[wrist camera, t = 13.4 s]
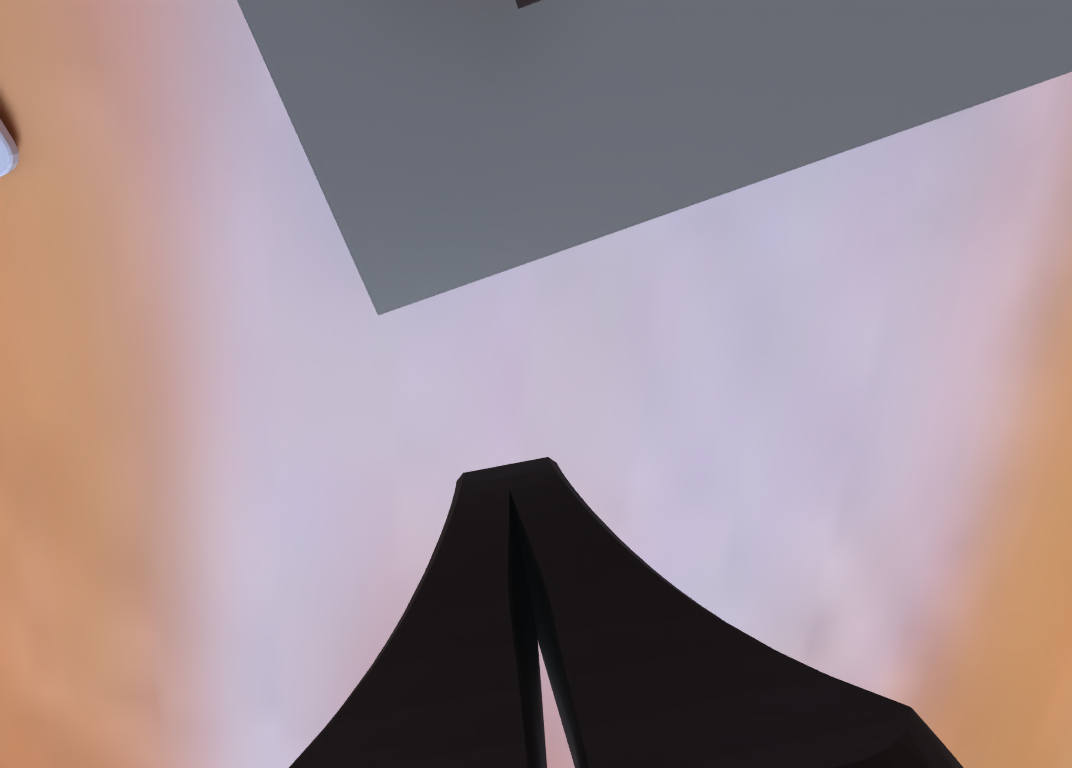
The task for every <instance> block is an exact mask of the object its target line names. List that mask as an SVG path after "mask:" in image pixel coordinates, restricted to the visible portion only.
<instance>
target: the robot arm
mask: <svg viewBox="0 0 1072 768" xmlns="http://www.w3.org/2000/svg"><path fill="white" fill-rule="evenodd" d="M18 161H19V152H18V149H17V146H16V144H15V142H14V140H13V139H12V137H11V135H10V134H9V132H8V130H7V129H6V127H5V126H4V124H3V122H2V121H1V119H0V177H1V176H3V175H5V174H7V173H9V172H10V171H12V170H13V169H15V167H16V165H17V163H18ZM538 642H539V646H540V649H541V653H542V656H543V660H544V663H545V667H546V670H547V673H548V677H549V680H550V684H551V687H552V691H553V694H554V697H555V701H556V704H557V708H558V711H559V714H560V718H561V721H562V725H563V728H564V731H565V735H566V738H567V742H568V745H569V748H570V752H571V755H572V759H573V762H574V766H575V768H963V767H962V765H961V764H960V763H959V762H958V761H957V759H956V758H955V757H954V756H953V755H952V753H951V752H950V751H949V750H948V749H947V748H946V746H945V745H944V744H943V743H942V742H941V741H940V739H939V738H938V737H937V736H936V735H935V734H934V733H933V731H932V730H931V729H930V728H929V727H928V726H927V725H926V723H925V722H924V721H923V720H922V719H921V718H920V717H919V715H918V714H917V713H916V712H915V711H914V710H913V709H912V708H911V707H909V706H907V705H904V704H901V703H899V702H896V701H894V700H891V699H888V698H886V697H883V696H881V695H878V694H875V693H873V692H870V691H868V690H865V689H862V688H860V687H857V686H855V685H852V684H849V683H847V682H844V681H842V680H839V679H836V678H834V677H831V676H829V675H827V674H825V673H822V672H820V671H818V670H816V669H814V668H812V667H809V666H807V665H805V664H803V663H801V662H799V661H797V660H795V659H793V658H790V657H788V656H786V655H784V654H782V653H780V652H778V651H776V650H774V649H772V648H770V647H769V646H767V645H765V644H763V643H762V642H760V641H758V640H756V639H755V638H753V637H751V636H749V635H748V634H746V633H744V632H742V631H741V630H739V629H737V628H735V627H733V626H732V625H730V624H728V623H726V622H725V621H723V620H722V619H720V618H719V617H717V616H716V615H714V614H713V613H711V612H710V611H708V610H707V609H705V608H704V607H702V606H701V605H699V604H698V603H696V602H695V601H694V600H692V599H691V598H690V597H688V596H687V595H686V594H684V593H683V592H681V591H680V590H679V589H677V588H676V587H675V586H673V585H672V584H671V583H670V582H668V581H667V580H666V579H664V578H663V577H662V576H661V575H660V574H658V573H657V572H656V571H655V570H654V569H652V568H651V567H650V566H649V565H648V564H647V563H645V562H644V561H643V560H642V559H641V558H640V557H639V556H638V555H636V554H635V553H634V552H633V551H632V550H631V549H630V548H629V547H628V546H627V545H626V544H625V543H624V542H622V541H621V540H620V539H619V538H618V537H617V536H616V535H615V534H614V533H613V532H612V531H611V530H610V528H609V527H608V526H607V525H606V524H605V523H604V522H603V521H602V520H601V519H600V518H599V517H598V516H597V515H596V514H595V513H594V512H593V511H592V509H591V508H590V507H589V506H588V505H587V504H586V503H585V501H584V500H583V499H582V498H581V497H580V495H579V494H578V493H577V492H576V491H575V489H574V488H573V487H572V485H571V484H570V483H569V481H568V480H567V479H566V477H565V476H564V474H563V473H562V471H561V470H560V468H559V466H558V465H557V463H556V462H555V461H553V460H552V459H550V458H549V457H546V458H540V459H535V460H530V461H524V462H519V463H514V464H508V465H503V466H498V467H492V468H487V469H482V470H477V471H471V472H466V473H463V474H462V475H461V476H460V478H459V479H458V480H457V482H456V488H455V493H454V496H453V500H452V504H451V507H450V510H449V513H448V516H447V519H446V522H445V525H444V527H443V530H442V533H441V535H440V538H439V540H438V542H437V545H436V547H435V550H434V552H433V554H432V557H431V559H430V562H429V564H428V566H427V568H426V571H425V573H424V575H423V577H422V579H421V581H420V583H419V585H418V587H417V589H416V590H415V592H414V594H413V596H412V598H411V600H410V602H409V604H408V606H407V608H406V610H405V612H404V614H403V616H402V617H401V619H400V621H399V623H398V624H397V626H396V628H395V629H394V631H393V633H392V634H391V636H390V638H389V639H388V641H387V643H386V644H385V646H384V647H383V649H382V650H381V652H380V653H379V655H378V656H377V658H376V660H375V661H374V663H373V664H372V666H371V667H370V669H369V670H368V671H367V673H366V674H365V675H364V677H363V678H362V680H361V681H360V682H359V684H358V685H357V686H356V688H355V689H354V691H353V692H352V693H351V695H350V696H349V697H348V699H347V700H346V701H345V703H344V704H343V705H342V707H341V708H340V709H339V710H338V712H337V713H336V714H335V716H334V717H333V718H332V719H331V721H330V722H329V723H328V724H327V725H326V727H325V728H324V729H323V730H322V731H321V732H320V734H319V735H318V736H317V737H316V738H315V739H314V740H313V741H312V742H311V744H310V745H309V746H308V747H307V748H306V749H305V750H304V751H303V753H302V754H301V755H300V756H299V757H298V758H297V759H296V760H295V761H294V763H293V764H292V765H291V766H290V767H289V768H547V761H546V747H545V733H544V720H543V706H542V692H541V678H540V665H539V652H538Z"/></svg>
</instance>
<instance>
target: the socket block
mask: <svg viewBox="0 0 1072 768" xmlns="http://www.w3.org/2000/svg"><path fill="white" fill-rule="evenodd" d="M237 1H238V3H239V5H240V8H241V10H242V12H243V14H244V17H245V19H246V21H247V23H248V26H249V28H250V30H251V32H252V35H253V37H254V39H255V41H256V43H257V46H258V48H259V50H260V52H261V55H262V57H263V59H264V61H265V64H266V66H267V68H268V70H269V73H270V75H271V77H272V79H273V81H274V84H275V86H276V88H277V90H278V93H279V95H280V97H281V99H282V102H283V104H284V106H285V108H286V111H287V113H288V115H289V117H290V119H291V122H292V124H293V126H294V128H295V131H296V133H297V135H298V137H299V140H300V142H301V144H302V146H303V149H304V151H305V153H306V155H307V157H308V160H309V162H310V164H311V166H312V169H313V171H314V173H315V175H316V178H317V180H318V182H319V184H320V187H321V189H322V191H323V193H324V195H325V198H326V200H327V202H328V204H329V207H330V209H331V211H332V213H333V216H334V218H335V220H336V222H337V225H338V227H339V229H340V231H341V233H342V236H343V238H344V240H345V242H346V245H347V247H348V249H349V251H350V254H351V256H352V258H353V260H354V263H355V265H356V267H357V269H358V271H359V274H360V276H361V278H362V280H363V283H364V285H365V287H366V289H367V292H368V294H369V296H370V298H371V301H372V303H373V305H374V307H375V309H376V312H377V314H378V315H381V314H384V313H386V312H389V311H392V310H395V309H398V308H401V307H403V306H406V305H409V304H412V303H415V302H418V301H420V300H423V299H426V298H429V297H432V296H435V295H438V294H440V293H443V292H446V291H449V290H452V289H455V288H457V287H460V286H463V285H466V284H469V283H472V282H475V281H477V280H480V279H483V278H486V277H489V276H492V275H494V274H497V273H500V272H503V271H506V270H509V269H512V268H514V267H517V266H520V265H523V264H526V263H529V262H531V261H534V260H537V259H540V258H543V257H546V256H549V255H551V254H554V253H557V252H560V251H563V250H566V249H568V248H571V247H574V246H577V245H580V244H583V243H586V242H588V241H591V240H594V239H597V238H600V237H603V236H605V235H608V234H611V233H614V232H617V231H620V230H623V229H625V228H628V227H631V226H634V225H637V224H640V223H642V222H645V221H648V220H651V219H654V218H657V217H660V216H662V215H665V214H668V213H671V212H674V211H677V210H679V209H682V208H685V207H688V206H691V205H694V204H696V203H699V202H702V201H705V200H708V199H711V198H714V197H716V196H719V195H722V194H725V193H728V192H731V191H733V190H736V189H739V188H742V187H745V186H748V185H751V184H753V183H756V182H759V181H762V180H765V179H768V178H770V177H773V176H776V175H779V174H782V173H785V172H788V171H790V170H793V169H796V168H799V167H802V166H805V165H807V164H810V163H813V162H816V161H819V160H822V159H825V158H827V157H830V156H833V155H836V154H839V153H842V152H844V151H847V150H850V149H853V148H856V147H859V146H862V145H864V144H867V143H870V142H873V141H876V140H879V139H881V138H884V137H887V136H890V135H893V134H896V133H899V132H901V131H904V130H907V129H910V128H913V127H916V126H918V125H921V124H924V123H927V122H930V121H933V120H936V119H938V118H941V117H944V116H947V115H950V114H953V113H955V112H958V111H961V110H964V109H967V108H970V107H972V106H975V105H978V104H981V103H984V102H987V101H990V100H992V99H995V98H998V97H1001V96H1004V95H1007V94H1009V93H1012V92H1015V91H1018V90H1021V89H1024V88H1027V87H1029V86H1032V85H1035V84H1038V83H1041V82H1044V81H1046V80H1049V79H1052V78H1055V77H1058V76H1061V75H1064V74H1066V73H1069V72H1072V0H237Z"/></svg>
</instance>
